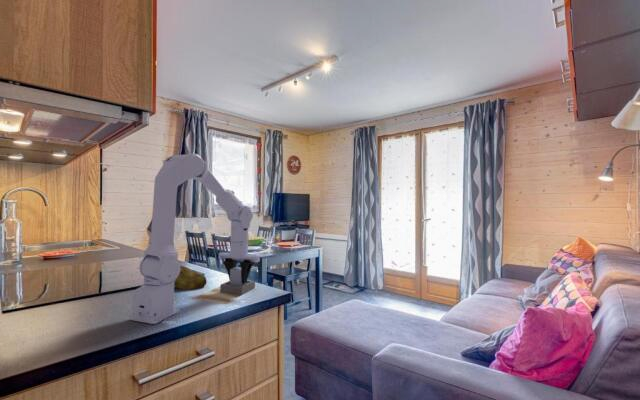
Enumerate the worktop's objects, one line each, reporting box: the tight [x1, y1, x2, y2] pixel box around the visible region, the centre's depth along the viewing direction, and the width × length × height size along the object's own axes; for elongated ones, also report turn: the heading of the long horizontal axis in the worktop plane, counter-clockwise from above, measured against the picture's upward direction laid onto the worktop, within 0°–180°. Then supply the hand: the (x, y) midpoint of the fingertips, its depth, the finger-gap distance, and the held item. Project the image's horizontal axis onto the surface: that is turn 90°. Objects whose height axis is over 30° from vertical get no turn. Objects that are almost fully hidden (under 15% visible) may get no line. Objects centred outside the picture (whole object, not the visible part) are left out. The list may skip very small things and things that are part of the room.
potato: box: [174, 265, 208, 291], centre depth 108 cm, size 8×13×8 cm, turn 81°
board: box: [191, 286, 256, 305], centre depth 103 cm, size 18×12×1 cm, turn 163°
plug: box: [229, 266, 247, 286], centre depth 107 cm, size 4×4×6 cm
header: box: [219, 279, 256, 296], centre depth 107 cm, size 9×8×2 cm
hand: (238, 281), depth 107 cm, fingers closed on plug, 4 cm apart
